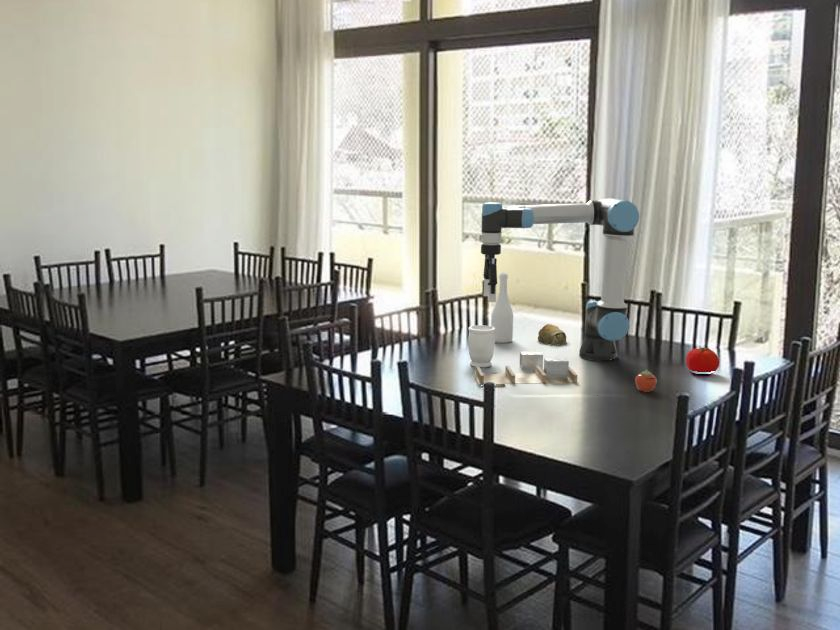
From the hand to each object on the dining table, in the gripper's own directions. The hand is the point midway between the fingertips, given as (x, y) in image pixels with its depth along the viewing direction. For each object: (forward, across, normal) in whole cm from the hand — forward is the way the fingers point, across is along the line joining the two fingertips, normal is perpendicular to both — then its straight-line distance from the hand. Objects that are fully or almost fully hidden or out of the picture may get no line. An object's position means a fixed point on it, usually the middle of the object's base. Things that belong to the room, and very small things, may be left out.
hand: (489, 299), depth 335 cm
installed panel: (+25, +23, +22) cm, 40 cm away
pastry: (+27, -42, +34) cm, 61 cm away
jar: (+27, -1, -3) cm, 27 cm away
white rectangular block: (+26, +8, +16) cm, 32 cm away
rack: (+26, +23, +11) cm, 36 cm away
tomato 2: (+27, +13, +80) cm, 85 cm away
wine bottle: (+27, -44, +12) cm, 53 cm away
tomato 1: (+27, +36, +51) cm, 68 cm away
